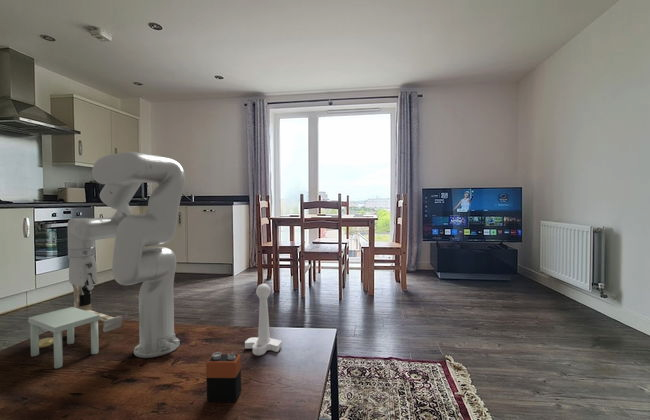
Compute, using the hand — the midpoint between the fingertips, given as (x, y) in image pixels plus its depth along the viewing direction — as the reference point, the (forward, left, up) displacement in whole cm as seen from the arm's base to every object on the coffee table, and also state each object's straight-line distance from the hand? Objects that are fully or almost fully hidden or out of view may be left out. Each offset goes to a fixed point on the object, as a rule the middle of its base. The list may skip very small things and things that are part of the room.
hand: (82, 304), depth 110 cm
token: (0, +11, -10) cm, 15 cm away
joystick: (-66, -18, -10) cm, 69 cm away
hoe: (-9, 0, -5) cm, 10 cm away
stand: (-14, +11, -10) cm, 21 cm away
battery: (-73, +4, -10) cm, 74 cm away
